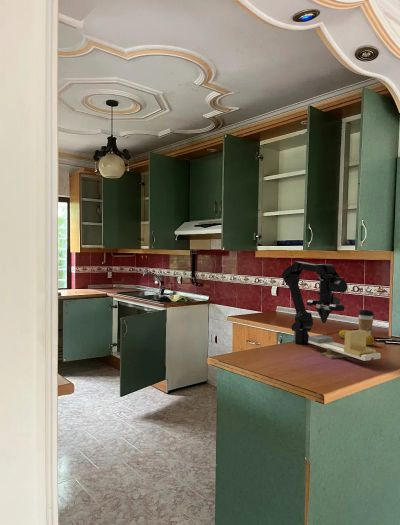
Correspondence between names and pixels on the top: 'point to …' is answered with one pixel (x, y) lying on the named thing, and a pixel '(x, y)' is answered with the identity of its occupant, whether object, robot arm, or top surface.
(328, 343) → the white twin rails
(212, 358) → the top surface
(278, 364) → the top surface
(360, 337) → the block
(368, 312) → the coffee cup
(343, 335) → the food
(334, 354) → the beam stand
